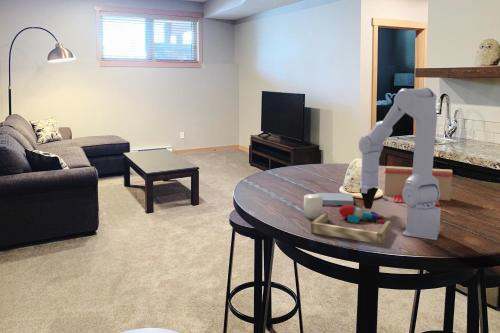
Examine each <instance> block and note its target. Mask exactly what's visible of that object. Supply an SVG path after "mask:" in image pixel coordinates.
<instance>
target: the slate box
mask: <svg viewBox="0 0 500 333" xmlns="http://www.w3.org/2000/svg"><path fill="white" fill-rule="evenodd" d="M315 194H318V195H321V196H322V197H323V201H322V206H338V205H343V206H345V205H353V206H355V205H354V203H355V202H354V201H355V200H354V196H353V193H345V192H344V193H341V192H340V193H339V192H337V193H336V192H335V193H334V192H315Z"/></svg>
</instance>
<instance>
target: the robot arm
mask: <svg viewBox="0 0 500 333" xmlns="http://www.w3.org/2000/svg"><path fill="white" fill-rule="evenodd" d="M436 104H437V94H436V93H434V91H433V90H432V89H431V88H429V87H422V88H401V89H400V90H398V92H397V93H396V95H395V96H394V97H393V105H392V106H391V107H390V109H389V111H388V112H387V114H386V115H385V117H384V118H383V120H379V121H376V122H375V124H374V126H373V127H372V128H371V130H370V131H369V132H368V134H367V135H365V136H361V137H360V139H359V141H358V149H359V152H360V153H361V166H360V167H361V170H360V171H361V172H360V181H357V183H356V184H357V185H360V188H359V193H360V195H361V198H362V201H363V206H364V209H367V210H368V209H370V210H371V209H372V207H373V204H374V202H375V200H374V199H375V197H376V195H377V192H378V191H379V188H378V186H379V164H380V157H381V155H382V154H381V153H382V151H383V149H384V143H385V142H386V141H387V140H388V138H389V137H390V135H392V133H393V127H394V125H395V124H396V123H398V121H399V120H400V119H401V118H402V117H403V116H404V115H405V114H407V115H408V116H409V117H411V118H412V119H413V120H415V134H414V147H413V157H412V158H413V161H412V162H413V163H412V168H413V171H412V174H411V175H410V177H409V178H408V179H407V180H406V183H405V187H404V189H403V192H402V196H403V200H404V203H405V205H406V206H407V210H406V211H407V212H406V224H405V225H406V227H405V230H404V231H403V232H402V235H403V236H407V237H411V238H421V239H425V240H433V241H436V240H438V236H439V234H440V232H441V210H442V209H441V208H440V207H437V206H436V205H435V202H437V201H438V200H439V198H440V190H439V180H438V179H436V178H435V177H434V176H433V175H432V170H433V169H434V156H435V147H436V146H435V145H436V144H435V143H436V132H437V123H438V122H437V121H438V112H437V108H436V107H437V105H436ZM439 201H440V200H439Z"/></svg>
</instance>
